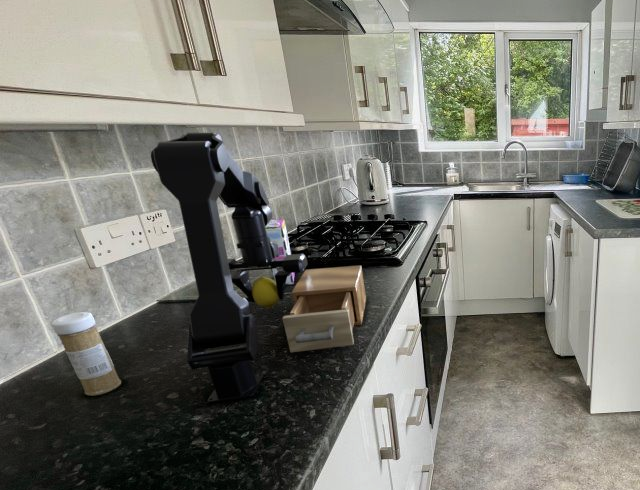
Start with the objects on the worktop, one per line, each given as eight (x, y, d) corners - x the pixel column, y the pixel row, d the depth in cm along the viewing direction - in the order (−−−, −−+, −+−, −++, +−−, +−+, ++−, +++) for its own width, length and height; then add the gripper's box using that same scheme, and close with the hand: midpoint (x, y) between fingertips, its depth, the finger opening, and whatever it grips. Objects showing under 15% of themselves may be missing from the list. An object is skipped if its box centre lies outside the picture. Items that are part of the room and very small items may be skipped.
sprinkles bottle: (122, 377, 72) (92, 308, 67) (121, 389, 68) (89, 318, 63) (86, 387, 69) (52, 316, 64) (83, 400, 66) (47, 326, 61)
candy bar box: (295, 284, 113) (282, 226, 107) (274, 287, 111) (260, 228, 105) (296, 272, 122) (284, 217, 116) (277, 274, 120) (264, 219, 114)
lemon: (271, 314, 93) (263, 281, 90) (250, 312, 94) (242, 280, 91) (288, 304, 98) (281, 273, 95) (268, 302, 99) (261, 271, 96)
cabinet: (361, 324, 90) (355, 286, 87) (299, 331, 87) (291, 292, 84) (366, 299, 103) (361, 265, 100) (312, 304, 101) (305, 269, 97)
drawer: (351, 356, 76) (345, 321, 74) (284, 365, 74) (275, 329, 71) (359, 315, 92) (354, 286, 90) (304, 321, 90) (298, 291, 87)
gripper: (305, 224, 99) (317, 284, 105) (218, 229, 95) (235, 291, 100) (295, 236, 89) (308, 301, 95) (197, 242, 85) (217, 310, 90)
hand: (268, 300), depth 95 cm, fingers closed on lemon, 5 cm apart
